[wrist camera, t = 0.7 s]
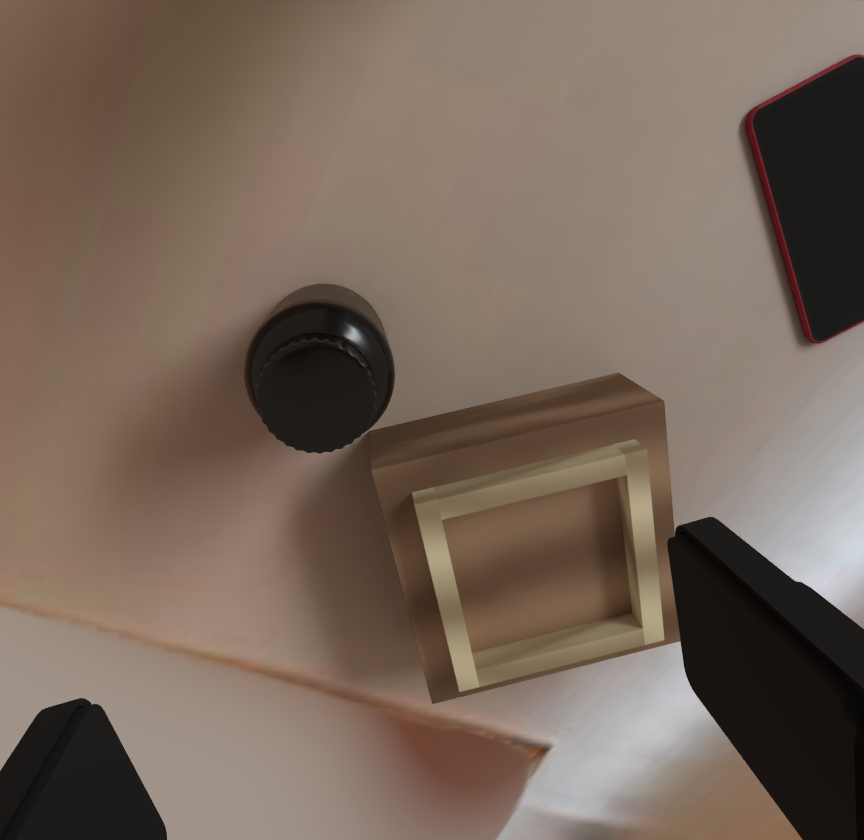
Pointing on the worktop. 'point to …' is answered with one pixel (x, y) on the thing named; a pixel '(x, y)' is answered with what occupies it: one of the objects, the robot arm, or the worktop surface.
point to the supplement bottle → (320, 368)
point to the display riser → (531, 532)
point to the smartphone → (817, 192)
